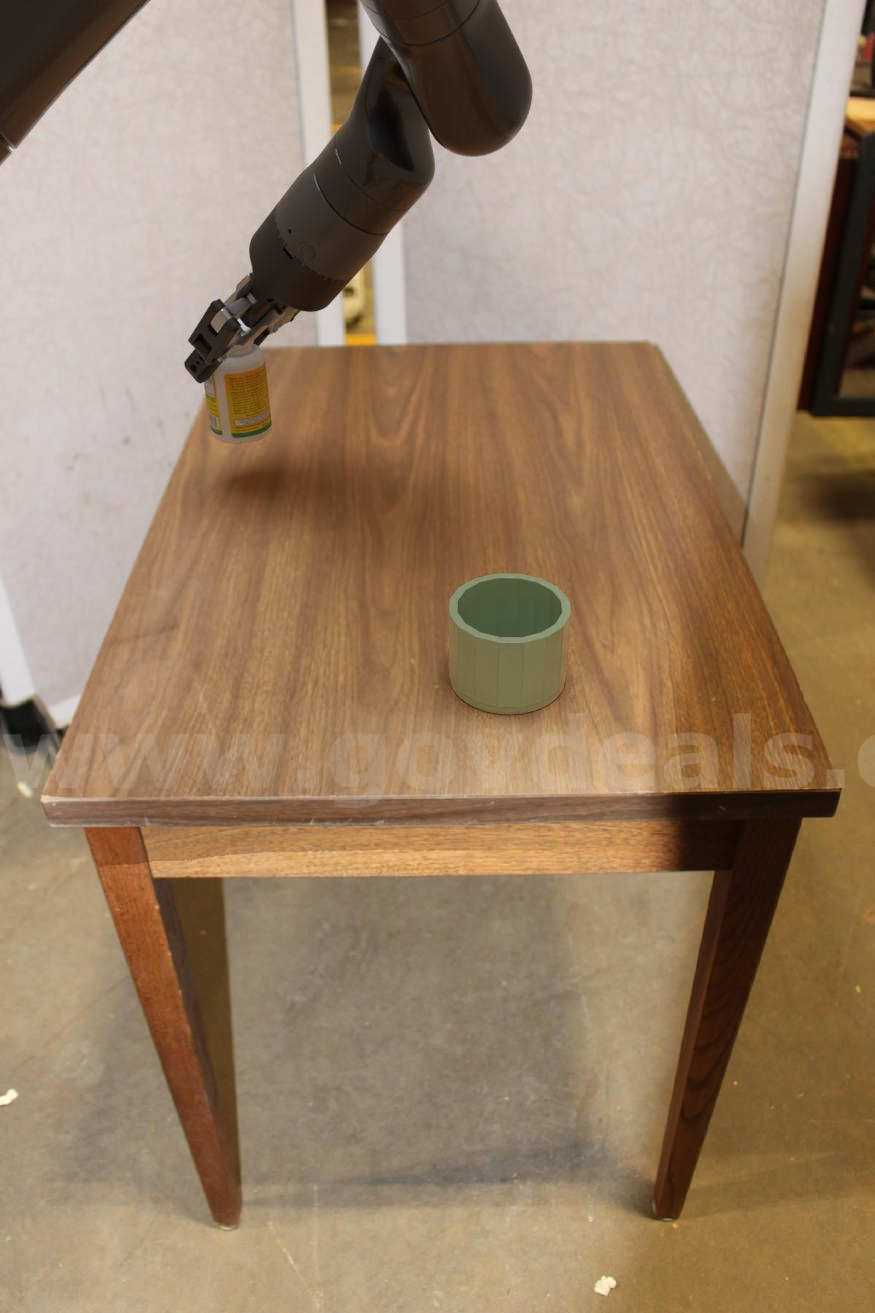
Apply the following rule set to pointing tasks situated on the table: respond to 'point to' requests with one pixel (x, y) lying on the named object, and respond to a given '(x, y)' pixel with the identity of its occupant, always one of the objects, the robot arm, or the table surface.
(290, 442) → the table surface
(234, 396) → the supplement bottle
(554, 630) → the holder
